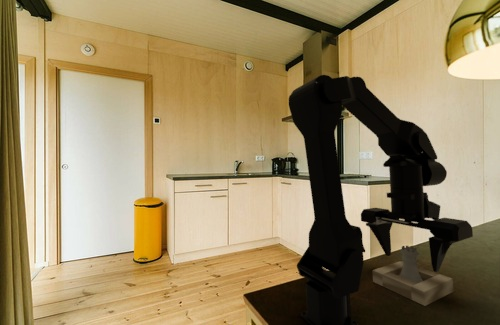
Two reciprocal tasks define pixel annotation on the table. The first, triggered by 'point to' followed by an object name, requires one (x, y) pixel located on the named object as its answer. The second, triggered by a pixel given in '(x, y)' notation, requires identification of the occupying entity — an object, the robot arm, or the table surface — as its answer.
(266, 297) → the table surface
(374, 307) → the table surface
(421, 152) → the robot arm
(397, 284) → the socket collar
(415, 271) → the rook chess piece
